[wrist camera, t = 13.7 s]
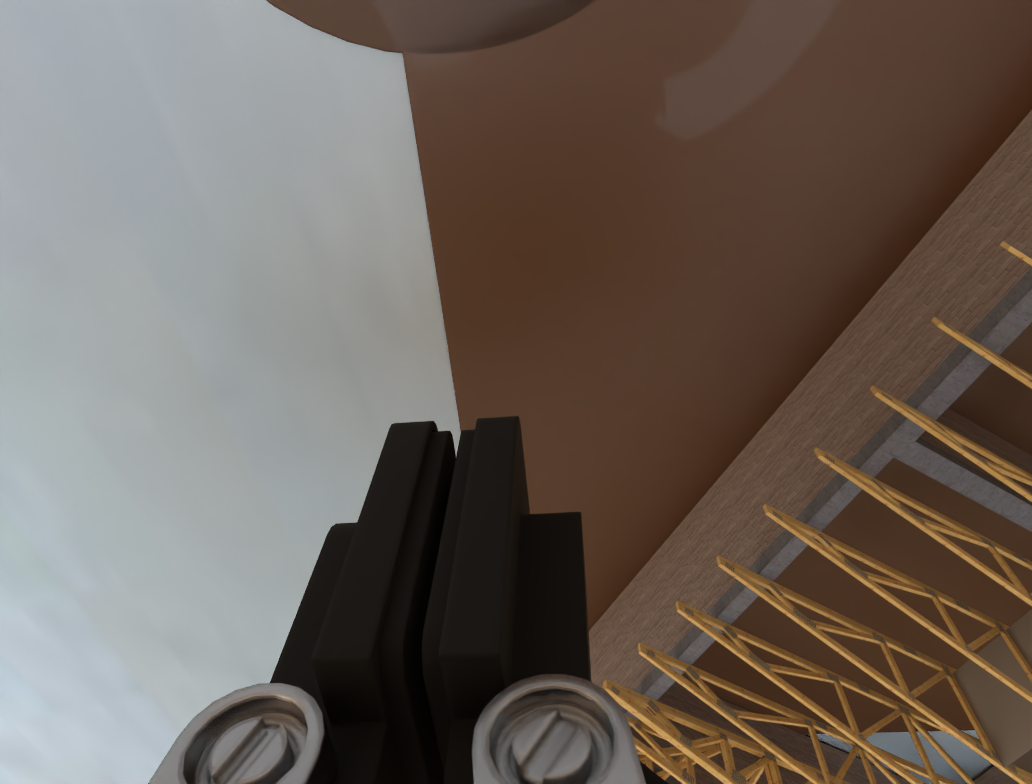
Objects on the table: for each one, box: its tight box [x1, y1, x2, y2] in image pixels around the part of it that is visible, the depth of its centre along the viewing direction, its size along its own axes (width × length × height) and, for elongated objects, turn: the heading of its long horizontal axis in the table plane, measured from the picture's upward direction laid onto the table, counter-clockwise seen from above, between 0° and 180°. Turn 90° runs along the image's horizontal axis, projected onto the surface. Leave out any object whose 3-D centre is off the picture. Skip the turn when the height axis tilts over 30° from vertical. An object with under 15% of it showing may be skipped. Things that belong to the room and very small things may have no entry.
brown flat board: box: [267, 0, 1032, 734], centre depth 15 cm, size 24×28×1 cm
